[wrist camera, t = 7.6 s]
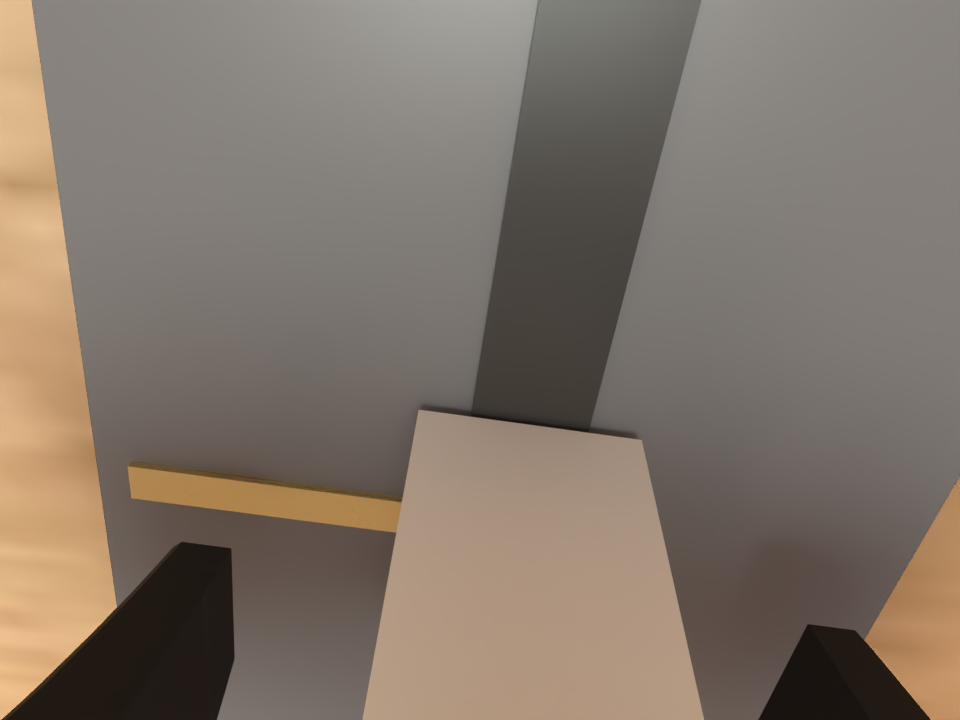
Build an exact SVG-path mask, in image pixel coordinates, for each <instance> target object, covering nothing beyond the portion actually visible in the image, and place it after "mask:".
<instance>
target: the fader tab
mask: <svg viewBox="0 0 960 720" xmlns="http://www.w3.org/2000/svg"><path fill="white" fill-rule="evenodd" d="M362 720H704V717H703V712H702V708H701V703H700V699H699V694H698V690H697V685H696V681H695V677H694V672H693V668H692V663H691V659H690V654H689V650H688V645H687V641H686V636H685V632H684V627H683V623H682V618H681V614H680V609H679V605H678V600H677V596H676V591H675V587H674V582H673V578H672V573H671V569H670V564H669V560H668V555H667V551H666V546H665V542H664V538H663V533H662V529H661V524H660V520H659V515H658V511H657V506H656V502H655V497H654V493H653V488H652V484H651V479H650V475H649V470H648V466H647V461H646V457H645V452H644V448H643V443H642V440H638V439H631V438H623V437H616V436H609V435H601V434H594V433H587V432H579V431H572V430H565V429H557V428H550V427H543V426H535V425H528V424H521V423H513V422H506V421H499V420H491V419H484V418H477V417H469V416H462V415H455V414H447V413H440V412H433V411H425V410H418V416H417V421H416V427H415V432H414V438H413V443H412V449H411V455H410V460H409V466H408V471H407V477H406V482H405V488H404V493H403V499H402V504H401V510H400V515H399V521H398V526H397V532H396V537H395V543H394V548H393V554H392V559H391V565H390V570H389V576H388V581H387V587H386V592H385V598H384V604H383V609H382V615H381V620H380V626H379V631H378V637H377V642H376V648H375V653H374V659H373V664H372V670H371V675H370V681H369V686H368V692H367V697H366V703H365V708H364V714H363V719H362Z"/></svg>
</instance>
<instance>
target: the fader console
mask: <svg viewBox="0 0 960 720" xmlns="http://www.w3.org/2000/svg"><path fill="white" fill-rule="evenodd" d="M32 6H33V14H34V21H35V28H36V35H37V42H38V49H39V56H40V63H41V70H42V77H43V85H44V92H45V99H46V106H47V113H48V120H49V127H50V134H51V141H52V148H53V156H54V163H55V170H56V177H57V184H58V191H59V198H60V205H61V212H62V219H63V226H64V234H65V241H66V248H67V255H68V262H69V269H70V276H71V283H72V290H73V297H74V305H75V312H76V319H77V326H78V333H79V340H80V347H81V354H82V361H83V368H84V376H85V383H86V390H87V397H88V404H89V411H90V418H91V425H92V432H93V439H94V447H95V454H96V461H97V468H98V475H99V482H100V489H101V496H102V503H103V510H104V518H105V525H106V532H107V539H108V546H109V553H110V560H111V567H112V574H113V581H114V589H115V596H116V603H117V607H118V606H119V605H120V604H121V603H122V602H123V601H124V600H125V599H126V598H127V597H128V596H129V595H130V593H131V592H132V591H133V590H134V589H135V588H136V587H137V586H138V585H139V584H140V583H141V582H142V581H143V580H144V578H145V577H146V576H147V575H148V574H149V573H150V572H151V571H152V570H153V569H154V568H155V566H156V565H157V564H158V563H159V562H160V561H161V560H162V559H163V558H164V556H165V555H166V554H167V553H168V552H169V551H170V550H171V549H172V548H173V547H174V546H176V545H177V544H179V543H180V542H188V543H195V544H203V545H210V546H218V547H226V548H231V551H232V585H233V618H234V652H235V659H234V663H233V666H232V670H231V673H230V677H229V680H228V684H227V687H226V691H225V694H224V698H223V701H222V704H221V708H220V711H219V714H218V718H217V720H362V719H363V714H364V708H365V703H366V697H367V692H368V686H369V681H370V675H371V670H372V664H373V659H374V653H375V648H376V642H377V637H378V631H379V626H380V620H381V615H382V609H383V604H384V598H385V592H386V587H387V581H388V576H389V570H390V565H391V559H392V554H393V548H394V543H395V537H396V532H397V526H398V521H399V515H400V510H401V504H402V499H403V493H404V488H405V482H406V477H407V471H408V466H409V460H410V455H411V449H412V443H413V438H414V432H415V427H416V421H417V416H418V410H425V411H433V412H440V413H447V414H455V415H462V416H469V417H477V418H484V419H491V420H499V421H506V422H513V423H521V424H528V425H535V426H543V427H550V428H557V429H565V430H572V431H579V432H587V433H594V434H601V435H609V436H616V437H623V438H631V439H638V440H642V443H643V448H644V452H645V457H646V461H647V466H648V470H649V475H650V479H651V484H652V488H653V493H654V497H655V502H656V506H657V511H658V515H659V520H660V524H661V529H662V533H663V538H664V542H665V546H666V551H667V555H668V560H669V564H670V569H671V573H672V578H673V582H674V587H675V591H676V596H677V600H678V605H679V609H680V614H681V618H682V623H683V627H684V632H685V636H686V641H687V645H688V650H689V654H690V659H691V663H692V668H693V672H694V677H695V681H696V685H697V690H698V694H699V699H700V703H701V708H702V712H703V717H704V720H758V719H759V717H760V715H761V713H762V712H763V710H764V708H765V706H766V704H767V702H768V700H769V698H770V696H771V694H772V692H773V690H774V688H775V686H776V684H777V683H778V681H779V679H780V677H781V675H782V673H783V671H784V669H785V667H786V665H787V663H788V661H789V659H790V657H791V655H792V653H793V652H794V650H795V648H796V646H797V644H798V642H799V640H800V638H801V636H802V634H803V632H804V630H805V628H806V626H807V624H811V625H819V626H827V627H834V628H842V629H849V630H855V631H856V632H857V633H858V634H859V635H860V636H861V637H862V638H863V640H864V639H865V638H866V636H867V634H868V632H869V631H870V629H871V627H872V626H873V624H874V622H875V620H876V619H877V617H878V615H879V614H880V612H881V610H882V608H883V607H884V605H885V603H886V602H887V600H888V598H889V596H890V595H891V593H892V591H893V590H894V588H895V586H896V584H897V583H898V581H899V579H900V578H901V576H902V574H903V572H904V571H905V569H906V567H907V566H908V564H909V562H910V560H911V559H912V557H913V555H914V554H915V552H916V550H917V548H918V547H919V545H920V543H921V542H922V540H923V538H924V536H925V535H926V533H927V531H928V529H929V528H930V526H931V524H932V523H933V521H934V519H935V517H936V516H937V514H938V512H939V511H940V509H941V507H942V505H943V504H944V502H945V500H946V499H947V497H948V495H949V493H950V492H951V490H952V488H953V487H954V485H955V483H956V481H957V480H958V478H959V476H960V0H32Z"/></svg>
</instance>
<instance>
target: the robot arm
mask: <svg viewBox="0 0 960 720" xmlns="http://www.w3.org/2000/svg"><path fill="white" fill-rule="evenodd" d="M234 659H235V652H234V618H233V585H232V551H231V548H226V547H218V546H210V545H203V544H195V543H188V542H180V543H179V544H177V545H176V546H174V547H173V548H172V549H171V550H170V551H169V552H168V553H167V554H166V555H165V556H164V558H163V559H162V560H161V561H160V562H159V563H158V564H157V565H156V566H155V568H154V569H153V570H152V571H151V572H150V573H149V574H148V575H147V576H146V577H145V578H144V580H143V581H142V582H141V583H140V584H139V585H138V586H137V587H136V588H135V589H134V590H133V591H132V592H131V593H130V595H129V596H128V597H127V598H126V599H125V600H124V601H123V602H122V603H121V604H120V605H119V606H118V607H117V608H116V609H115V610H114V611H113V612H112V613H111V614H110V615H109V616H108V617H107V619H106V620H105V621H104V622H103V623H102V624H101V625H100V626H99V627H98V628H97V629H96V630H95V631H94V632H93V633H92V634H91V635H90V636H89V637H88V638H87V639H86V640H85V641H84V642H83V643H82V644H81V645H80V646H79V647H78V648H77V649H76V650H75V651H74V652H73V653H72V654H71V655H70V656H69V657H67V658H66V659H65V660H64V661H63V662H62V663H61V664H60V665H59V666H58V667H57V668H56V669H55V670H54V671H53V672H52V673H51V674H50V675H49V676H48V677H47V678H46V679H45V680H44V681H43V682H42V683H41V684H40V685H39V686H38V687H37V688H36V689H35V690H34V691H33V692H31V693H30V694H29V695H28V696H27V697H26V698H25V699H24V700H23V701H22V702H21V703H20V704H18V705H17V706H16V707H15V708H14V709H13V710H12V711H11V712H10V713H8V714H7V715H6V716H5V717H4V718H3V719H2V720H217V718H218V714H219V711H220V708H221V704H222V701H223V698H224V694H225V691H226V687H227V684H228V680H229V677H230V673H231V670H232V666H233V663H234ZM758 720H930V718H929V717H928V716H927V715H926V714H925V712H924V711H923V710H922V709H921V708H920V706H919V705H918V704H917V703H916V702H915V700H914V699H913V698H912V697H911V696H910V694H909V693H908V692H907V691H906V689H905V688H904V687H903V686H902V685H901V683H900V682H899V681H898V680H897V679H896V677H895V676H894V675H893V674H892V673H891V671H890V670H889V669H888V668H887V667H886V665H885V664H884V663H883V662H882V661H881V659H880V658H879V657H878V656H877V655H876V654H875V652H874V651H873V650H872V649H871V648H870V647H869V645H868V644H867V643H866V642H865V641H864V640H863V638H862V637H861V636H860V635H859V634H858V633H857V632H856V631H855V630H849V629H842V628H834V627H827V626H819V625H811V624H807V626H806V628H805V630H804V632H803V634H802V636H801V638H800V640H799V642H798V644H797V646H796V648H795V650H794V652H793V653H792V655H791V657H790V659H789V661H788V663H787V665H786V667H785V669H784V671H783V673H782V675H781V677H780V679H779V681H778V683H777V684H776V686H775V688H774V690H773V692H772V694H771V696H770V698H769V700H768V702H767V704H766V706H765V708H764V710H763V712H762V713H761V715H760V717H759V719H758Z"/></svg>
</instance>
